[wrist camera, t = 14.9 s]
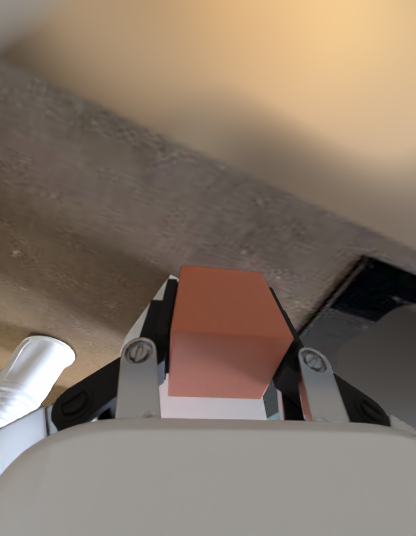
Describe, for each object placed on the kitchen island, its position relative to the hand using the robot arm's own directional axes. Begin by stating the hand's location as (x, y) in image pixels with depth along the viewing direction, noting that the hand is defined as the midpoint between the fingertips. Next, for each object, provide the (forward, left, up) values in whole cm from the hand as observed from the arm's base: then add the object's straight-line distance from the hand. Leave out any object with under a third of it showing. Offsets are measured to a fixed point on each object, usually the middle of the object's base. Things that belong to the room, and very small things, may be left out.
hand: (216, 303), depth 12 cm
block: (0, 0, 0) cm, 0 cm away
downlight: (+19, -21, -10) cm, 30 cm away
